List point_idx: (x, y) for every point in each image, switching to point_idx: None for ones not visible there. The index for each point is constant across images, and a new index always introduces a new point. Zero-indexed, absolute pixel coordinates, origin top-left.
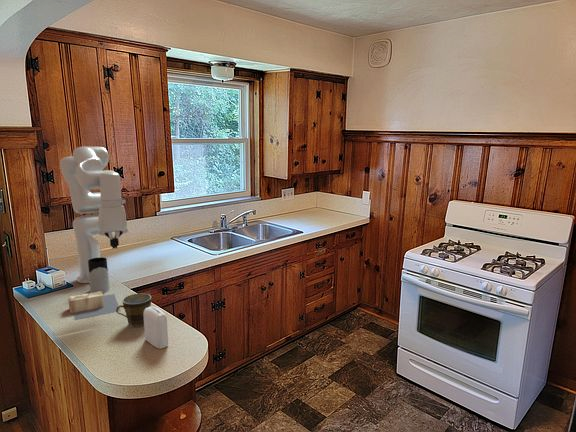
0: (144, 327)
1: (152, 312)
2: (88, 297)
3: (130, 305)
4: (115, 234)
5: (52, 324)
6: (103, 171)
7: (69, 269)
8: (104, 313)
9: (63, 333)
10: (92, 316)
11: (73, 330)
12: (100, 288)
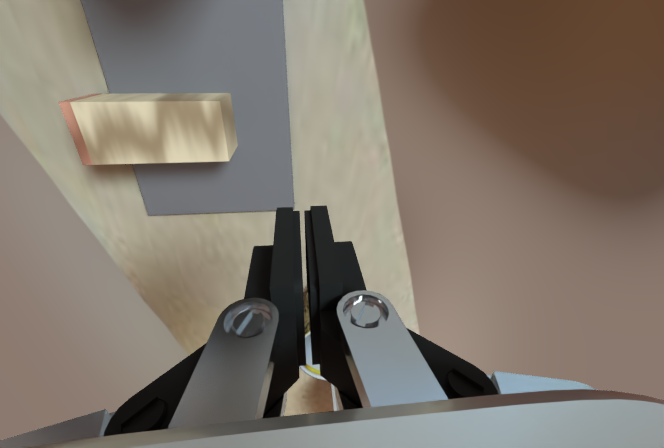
0: (331, 386)
1: None
2: (167, 158)
3: (314, 373)
4: (347, 357)
5: (75, 202)
6: None
7: None
8: (242, 206)
9: (135, 272)
10: (204, 211)
11: (160, 266)
12: None
